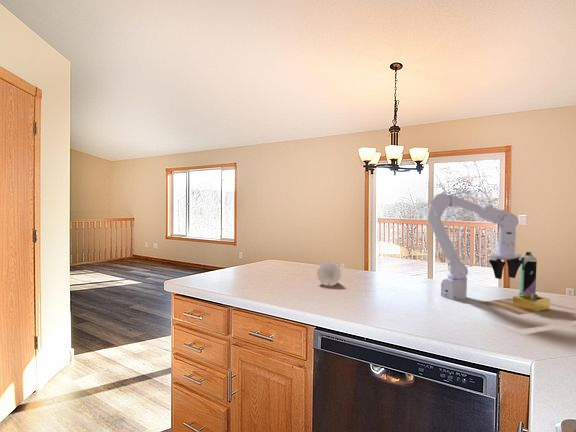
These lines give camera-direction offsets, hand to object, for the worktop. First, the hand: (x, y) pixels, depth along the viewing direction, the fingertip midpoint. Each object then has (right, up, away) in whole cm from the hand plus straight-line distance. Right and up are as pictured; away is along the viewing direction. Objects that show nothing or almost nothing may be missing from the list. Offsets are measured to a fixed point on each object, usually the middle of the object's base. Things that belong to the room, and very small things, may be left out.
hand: (505, 278), depth 135 cm
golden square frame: (+4, -9, -9) cm, 13 cm away
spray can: (+13, -11, +7) cm, 18 cm away
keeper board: (-1, -11, -6) cm, 12 cm away
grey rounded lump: (-63, -9, +36) cm, 73 cm away
